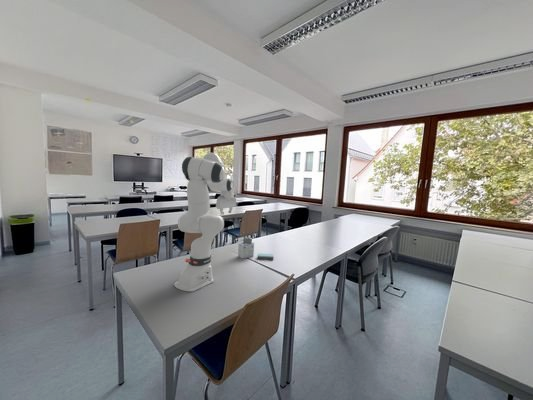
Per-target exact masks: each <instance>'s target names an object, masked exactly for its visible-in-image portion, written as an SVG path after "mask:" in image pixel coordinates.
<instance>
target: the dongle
mask: <svg viewBox="0 0 533 400" xmlns="http://www.w3.org/2000/svg"><path fill="white" fill-rule="evenodd" d="M241 241H242V242H243V243H246V244H252V242H253V238H252V237H249V236H245V237H242V238H241V239H240V242H241Z"/></svg>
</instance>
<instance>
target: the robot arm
mask: <svg viewBox="0 0 533 400" xmlns="http://www.w3.org/2000/svg"><path fill="white" fill-rule="evenodd" d="M181 170H182V171H181V172H182V173H183V176H184V177H185V180H187V181H188V182H187V188H186V198H187V205H188V208H187V211H185V212H184V214H182V215H181V216H179V218H178V221H177V227H178V229H179V231H181V232H184V233H189V234H190V233H191V234H202V235H201V236H200V237H198V238H195V239H194V240H193V241H192V243H191V245H190V256H189V258H185V260H184V261H185V263H188V264H187V265H186V266H185V267H184V269H183V270H182V271H181V272H180V274H179V277H178V280H176V282H174V283H173V286H174V287H175V288H176V289H177V290H181V291H183V292H195V291H197V290H199V289H201V288H203V287H206V286H208V285H210V284H212V283H214V281H215V280H214V276H213V267H212V263H211V262H212V253H211V250H212V243H213V240H214V238H215V237H216V236H217V235H218V234H219V233H221V232H222V230H223V229H224V227H225V220H224V218H223V217H222V216H223V215H224V214H225V213H224V209H229V210H228V212H227V213H228V214H232V210H233V208H235V207H236V205H237V197H238V196H237V194H236V193H234V191H233V189H234V178H233V177H234V176H233V174H232V173H229V172H226V167H225V164H224V162H223V160H222V159H221V157H220V156H219V155H218V154H216V153H215V152H207V153H205V155H204V156H203V157H195V156H188V157H185V159H184V160H183V161H182V164H181ZM210 192H220V195H219V196H218V197H217V199H216V204H215V209H217V210H219V212H220V215H217V214H212V213H210V214H209V213H208V212H209V211H210V209H211V203H210V202H211V201H210ZM221 215H222V216H221Z"/></svg>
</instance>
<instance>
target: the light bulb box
mask: <svg viewBox="0 0 533 400" xmlns="http://www.w3.org/2000/svg"><path fill="white" fill-rule="evenodd" d="M237 248H238V249H237V253H238V254H237V256H238V257H239V258H241V259H246V258H247V259H248V258H251V257H254V254H255V242H253V241H252V244H246V243H243V241H242V242H241V241H240V242H238V247H237Z"/></svg>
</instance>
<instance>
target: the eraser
mask: <svg viewBox="0 0 533 400" xmlns="http://www.w3.org/2000/svg"><path fill="white" fill-rule="evenodd" d="M257 260H263V261H264V260H267V261H274V253H262V252H261V253H260V252H258V253H257Z"/></svg>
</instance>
